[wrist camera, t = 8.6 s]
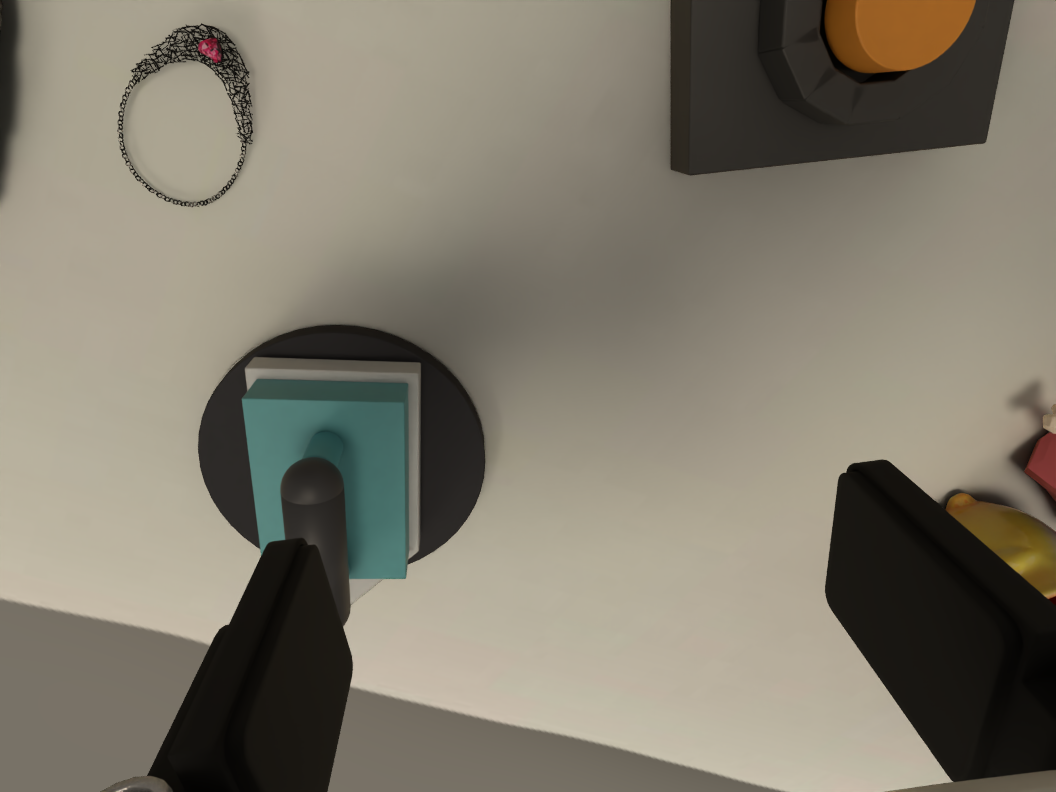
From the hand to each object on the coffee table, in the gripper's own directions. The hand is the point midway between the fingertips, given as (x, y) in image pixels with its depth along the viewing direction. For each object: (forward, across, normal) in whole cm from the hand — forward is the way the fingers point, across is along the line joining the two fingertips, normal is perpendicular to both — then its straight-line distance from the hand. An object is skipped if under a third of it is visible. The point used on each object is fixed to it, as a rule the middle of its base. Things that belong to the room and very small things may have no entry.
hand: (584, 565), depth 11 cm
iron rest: (+16, +8, +6) cm, 19 cm away
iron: (+15, +9, +7) cm, 18 cm away
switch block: (+16, -12, -9) cm, 22 cm away
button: (+13, -12, -9) cm, 20 cm away
